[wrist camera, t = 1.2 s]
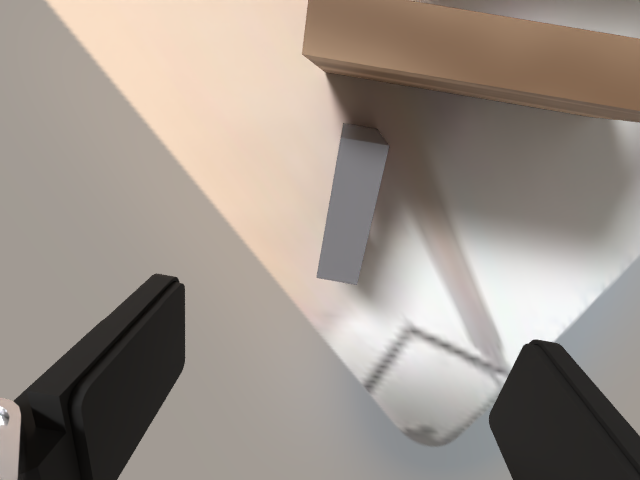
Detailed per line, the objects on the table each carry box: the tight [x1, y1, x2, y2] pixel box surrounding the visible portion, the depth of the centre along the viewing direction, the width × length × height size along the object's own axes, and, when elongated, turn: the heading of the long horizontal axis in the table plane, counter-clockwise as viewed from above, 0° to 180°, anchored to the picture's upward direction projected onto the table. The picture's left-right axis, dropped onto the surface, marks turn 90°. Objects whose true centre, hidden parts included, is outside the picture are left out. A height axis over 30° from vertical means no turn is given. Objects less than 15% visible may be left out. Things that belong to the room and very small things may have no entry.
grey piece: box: [317, 123, 389, 285], centre depth 22 cm, size 8×2×8 cm, turn 171°
